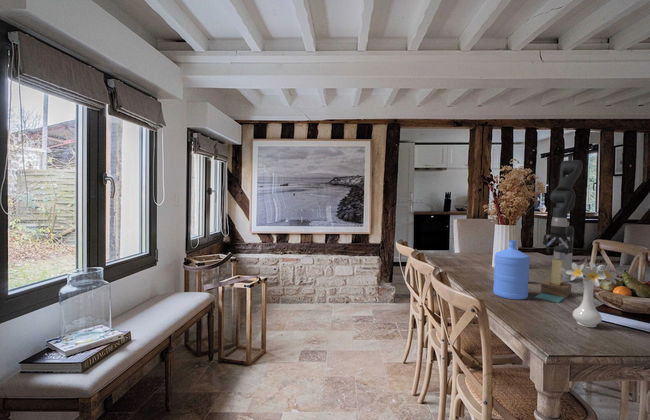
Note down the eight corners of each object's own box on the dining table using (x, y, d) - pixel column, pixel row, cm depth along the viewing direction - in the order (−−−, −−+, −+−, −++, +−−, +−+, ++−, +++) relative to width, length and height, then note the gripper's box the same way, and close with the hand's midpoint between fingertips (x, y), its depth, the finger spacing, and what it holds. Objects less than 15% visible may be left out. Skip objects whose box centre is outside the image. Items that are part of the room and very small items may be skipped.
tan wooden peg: (552, 292, 182) (554, 258, 181) (561, 293, 179) (563, 259, 179) (550, 293, 180) (552, 259, 179) (559, 295, 177) (561, 260, 176)
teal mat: (541, 294, 178) (541, 292, 178) (564, 298, 171) (564, 297, 171) (535, 297, 171) (535, 296, 171) (558, 302, 164) (559, 301, 164)
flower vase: (554, 315, 147) (557, 257, 145) (608, 323, 139) (612, 261, 138) (560, 326, 135) (563, 263, 133) (620, 335, 127) (624, 268, 126)
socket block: (546, 289, 187) (547, 280, 187) (570, 293, 179) (571, 284, 179) (540, 293, 180) (541, 283, 179) (565, 298, 172) (566, 288, 171)
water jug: (533, 301, 166) (535, 243, 164) (497, 298, 169) (500, 242, 168) (521, 292, 181) (523, 239, 180) (489, 289, 184) (491, 238, 183)
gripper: (575, 226, 195) (573, 255, 195) (546, 224, 205) (544, 251, 205) (573, 226, 190) (570, 256, 190) (543, 224, 199) (541, 252, 200)
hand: (557, 253), depth 198 cm, fingers open, 8 cm apart
